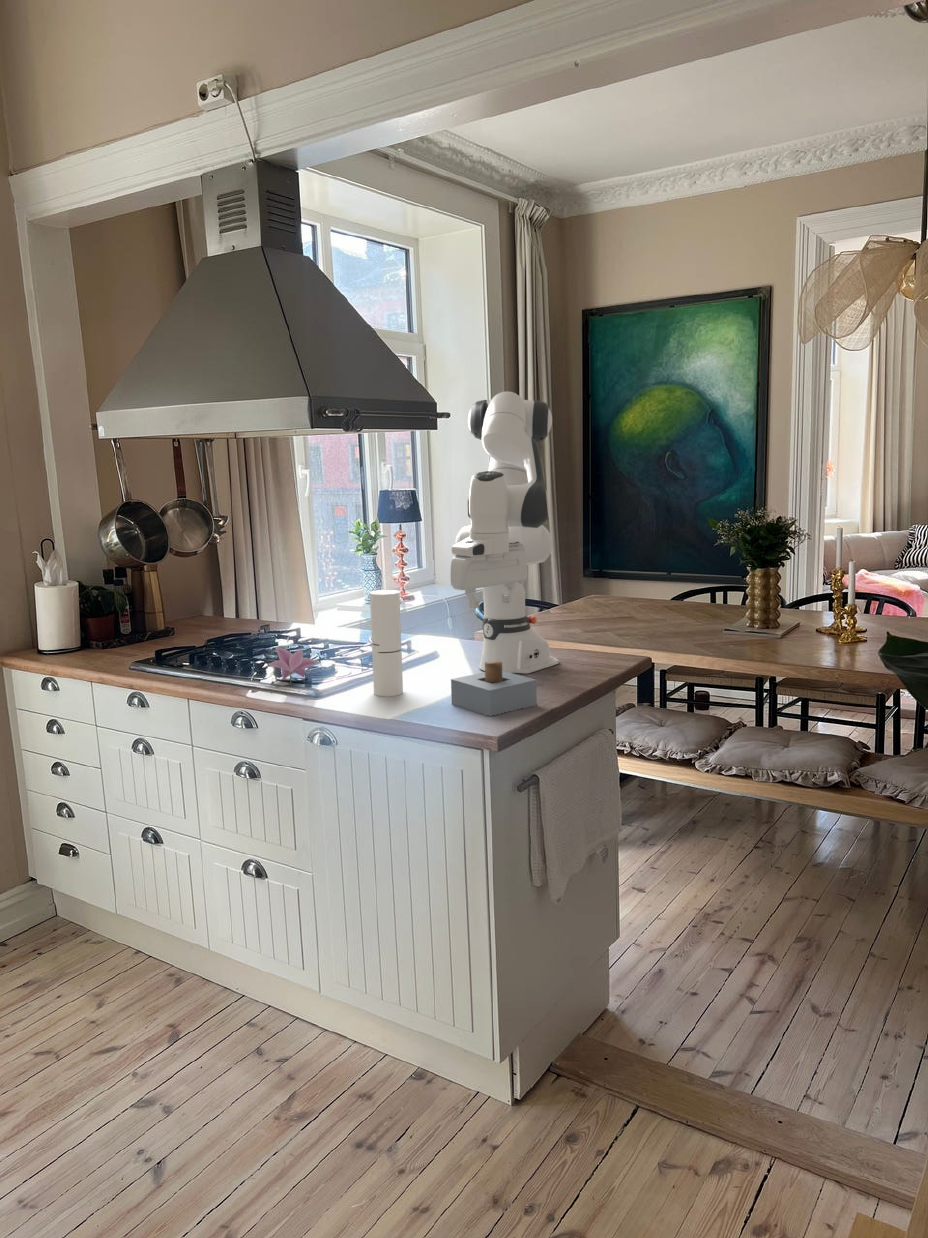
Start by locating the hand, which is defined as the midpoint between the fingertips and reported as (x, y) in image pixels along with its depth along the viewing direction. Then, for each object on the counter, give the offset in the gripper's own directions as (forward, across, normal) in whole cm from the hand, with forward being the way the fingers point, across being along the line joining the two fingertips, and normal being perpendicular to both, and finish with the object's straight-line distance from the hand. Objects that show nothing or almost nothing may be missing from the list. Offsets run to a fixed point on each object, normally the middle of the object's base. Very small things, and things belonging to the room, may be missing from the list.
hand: (490, 605), depth 211 cm
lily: (+24, +24, -52) cm, 62 cm away
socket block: (+23, 0, +1) cm, 23 cm away
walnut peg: (+23, 0, +1) cm, 23 cm away
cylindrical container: (+24, +12, -25) cm, 37 cm away
